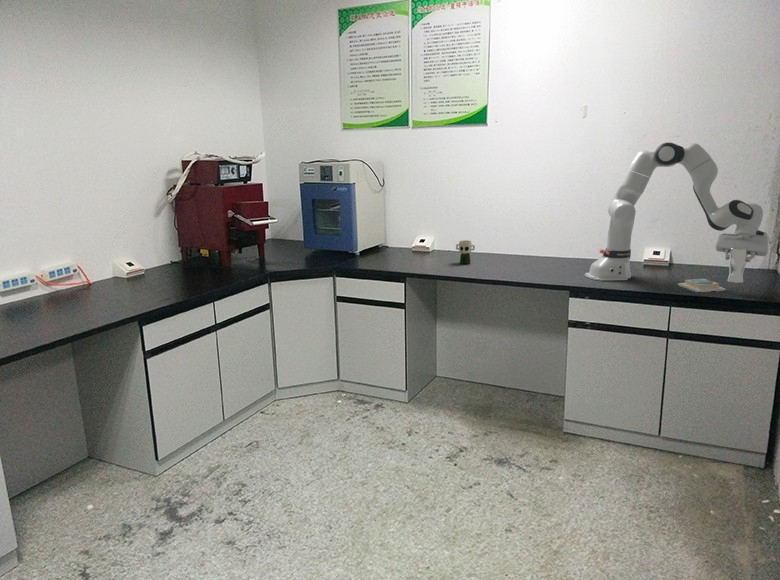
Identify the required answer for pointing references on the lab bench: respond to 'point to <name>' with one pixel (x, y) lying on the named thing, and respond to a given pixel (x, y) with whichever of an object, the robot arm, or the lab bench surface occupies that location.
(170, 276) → the lab bench surface
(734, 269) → the beer glass
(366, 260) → the lab bench surface
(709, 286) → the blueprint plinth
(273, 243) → the lab bench surface
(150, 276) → the lab bench surface
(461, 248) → the character mug
